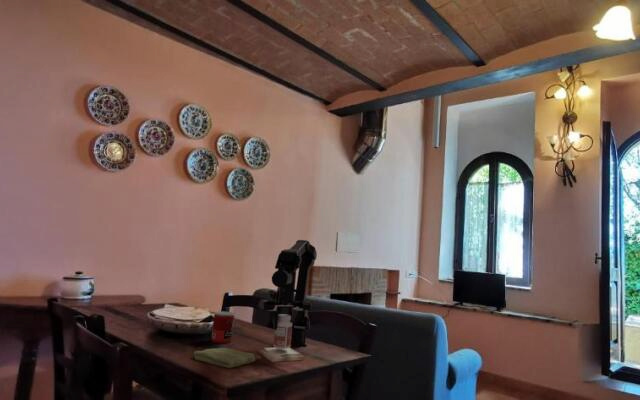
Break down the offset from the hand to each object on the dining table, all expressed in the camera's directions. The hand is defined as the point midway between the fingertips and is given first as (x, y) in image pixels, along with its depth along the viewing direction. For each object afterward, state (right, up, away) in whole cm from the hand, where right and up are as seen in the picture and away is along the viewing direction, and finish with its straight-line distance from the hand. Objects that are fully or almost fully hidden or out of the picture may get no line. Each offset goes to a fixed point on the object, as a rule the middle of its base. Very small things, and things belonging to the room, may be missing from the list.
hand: (283, 329), depth 151 cm
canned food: (-26, -9, +15) cm, 31 cm away
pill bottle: (-1, -6, -1) cm, 6 cm away
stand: (-1, -9, -1) cm, 9 cm away
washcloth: (-19, -7, -12) cm, 23 cm away
